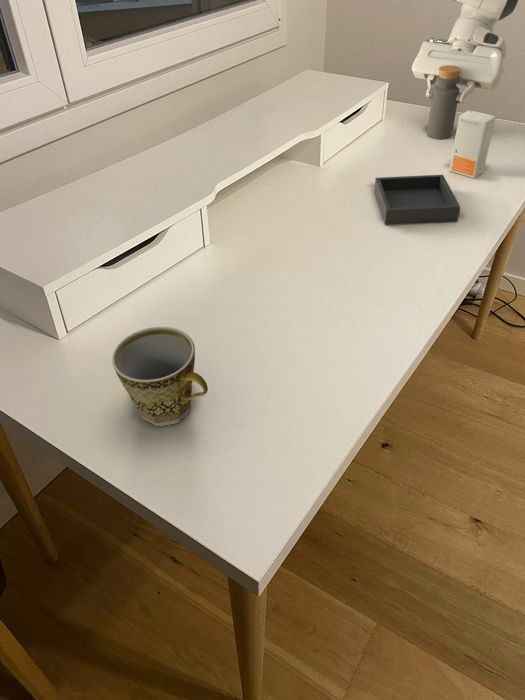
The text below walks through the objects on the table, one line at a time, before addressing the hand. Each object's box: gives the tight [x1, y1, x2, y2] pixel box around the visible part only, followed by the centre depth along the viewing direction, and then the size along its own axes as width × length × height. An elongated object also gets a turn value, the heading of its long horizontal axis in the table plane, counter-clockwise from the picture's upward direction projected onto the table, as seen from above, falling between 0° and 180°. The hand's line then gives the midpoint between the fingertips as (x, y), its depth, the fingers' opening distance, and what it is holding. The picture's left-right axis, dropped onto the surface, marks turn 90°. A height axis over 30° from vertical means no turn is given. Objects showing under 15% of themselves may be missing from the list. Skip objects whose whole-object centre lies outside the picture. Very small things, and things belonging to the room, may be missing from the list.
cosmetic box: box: [449, 109, 496, 180], centre depth 121 cm, size 6×4×12 cm
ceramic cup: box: [111, 326, 209, 427], centre depth 73 cm, size 13×10×10 cm
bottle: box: [426, 65, 460, 140], centre depth 136 cm, size 6×6×15 cm
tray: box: [374, 174, 461, 226], centre depth 114 cm, size 14×14×3 cm
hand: (443, 99), depth 135 cm, fingers closed on bottle, 6 cm apart
